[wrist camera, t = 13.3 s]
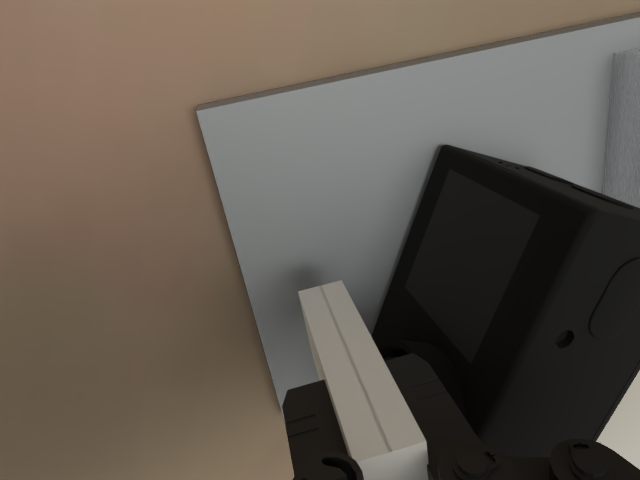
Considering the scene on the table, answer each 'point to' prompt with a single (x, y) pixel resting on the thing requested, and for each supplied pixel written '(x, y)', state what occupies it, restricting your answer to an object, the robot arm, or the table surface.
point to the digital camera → (519, 300)
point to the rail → (623, 130)
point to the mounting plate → (391, 162)
